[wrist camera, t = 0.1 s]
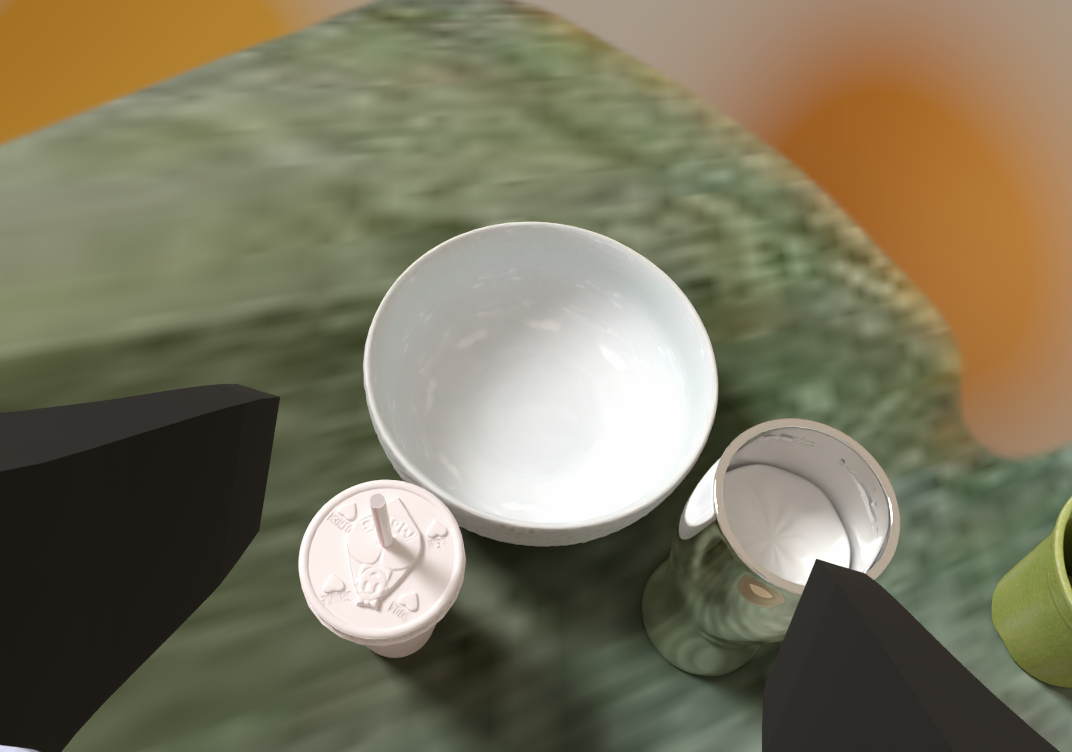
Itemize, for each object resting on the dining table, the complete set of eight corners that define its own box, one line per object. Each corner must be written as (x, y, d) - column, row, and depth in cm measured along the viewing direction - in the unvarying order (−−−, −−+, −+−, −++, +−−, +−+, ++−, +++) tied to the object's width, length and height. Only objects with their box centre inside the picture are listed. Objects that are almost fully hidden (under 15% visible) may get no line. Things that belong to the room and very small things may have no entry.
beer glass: (793, 591, 44) (934, 475, 31) (735, 716, 41) (865, 644, 28) (671, 519, 46) (757, 379, 33) (606, 635, 43) (673, 531, 30)
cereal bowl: (312, 485, 45) (290, 424, 39) (464, 255, 53) (465, 174, 47) (616, 635, 43) (643, 596, 37) (729, 370, 51) (766, 301, 44)
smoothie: (477, 568, 44) (485, 451, 32) (446, 701, 41) (442, 629, 28) (350, 541, 44) (310, 414, 32) (310, 672, 41) (248, 587, 29)
